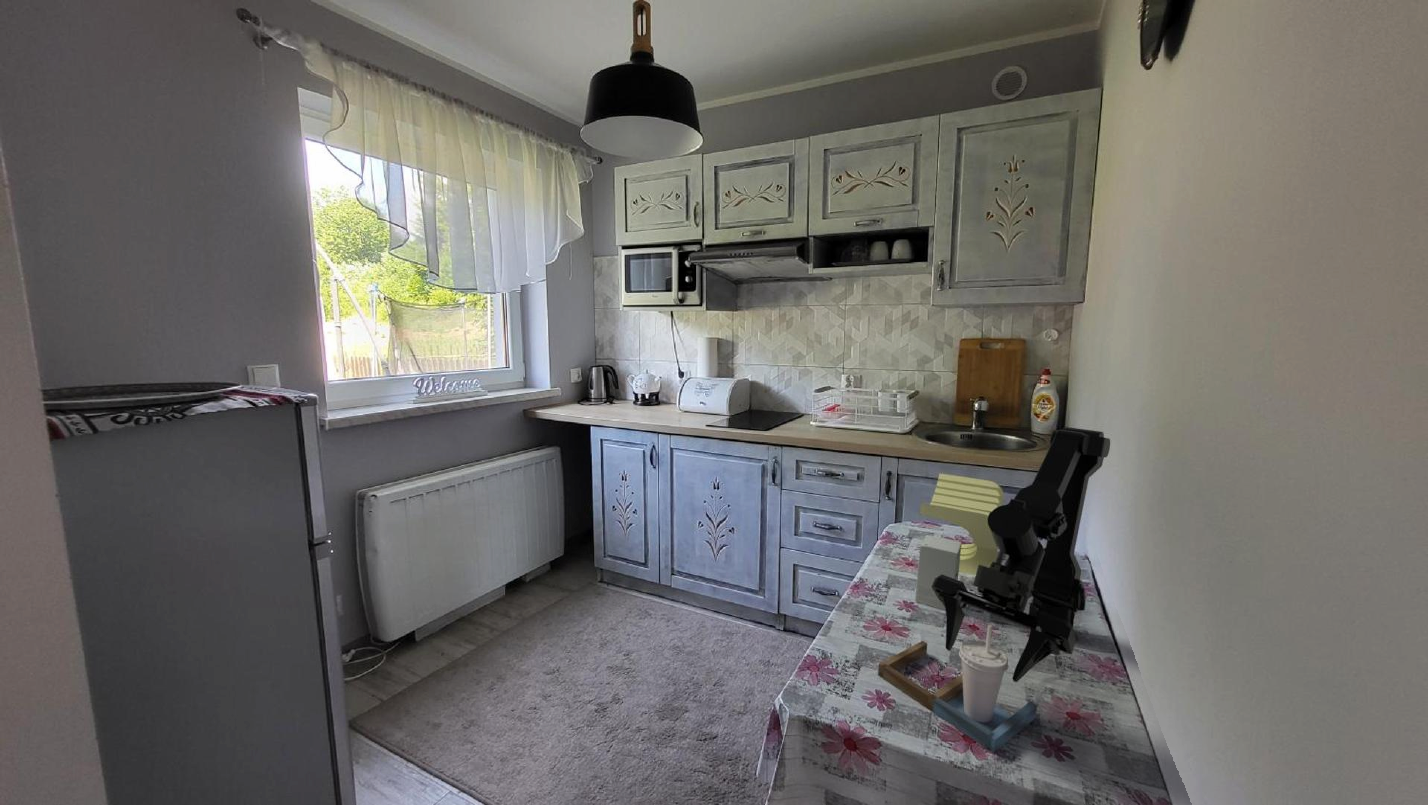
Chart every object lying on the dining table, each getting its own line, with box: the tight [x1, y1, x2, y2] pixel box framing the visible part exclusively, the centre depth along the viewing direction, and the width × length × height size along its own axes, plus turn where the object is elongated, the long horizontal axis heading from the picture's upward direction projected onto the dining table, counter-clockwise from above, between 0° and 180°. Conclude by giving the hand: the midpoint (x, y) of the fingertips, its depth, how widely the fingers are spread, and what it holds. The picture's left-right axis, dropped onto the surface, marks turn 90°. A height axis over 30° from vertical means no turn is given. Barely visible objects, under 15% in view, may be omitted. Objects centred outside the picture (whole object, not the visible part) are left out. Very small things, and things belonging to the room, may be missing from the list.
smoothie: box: [958, 624, 1009, 722], centre depth 76 cm, size 6×6×14 cm
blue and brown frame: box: [877, 640, 1038, 754], centre depth 81 cm, size 12×19×2 cm, turn 35°
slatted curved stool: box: [919, 473, 1004, 576], centre depth 129 cm, size 30×16×18 cm, turn 149°
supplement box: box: [914, 534, 963, 611], centre depth 110 cm, size 7×7×13 cm
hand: (979, 664), depth 75 cm, fingers open, 9 cm apart
